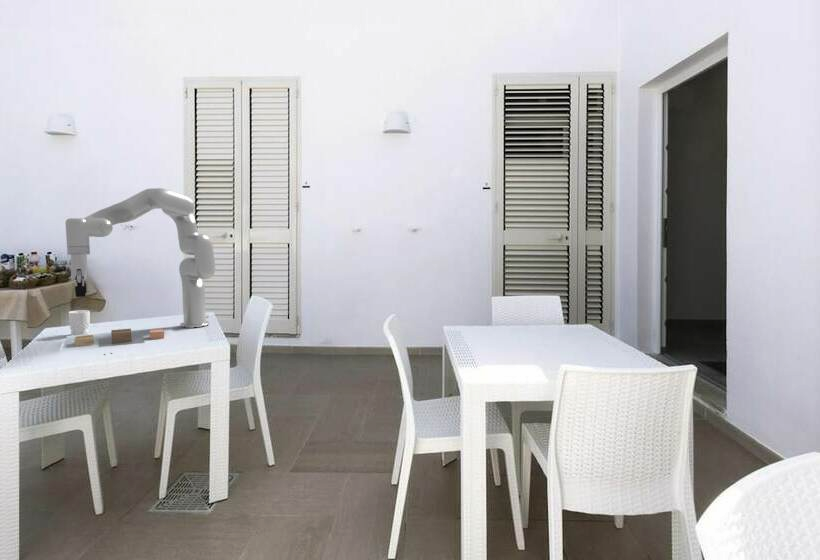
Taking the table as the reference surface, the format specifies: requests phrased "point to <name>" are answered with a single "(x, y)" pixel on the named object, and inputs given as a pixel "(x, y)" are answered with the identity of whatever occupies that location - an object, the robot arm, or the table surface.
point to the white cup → (79, 322)
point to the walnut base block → (121, 335)
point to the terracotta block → (157, 334)
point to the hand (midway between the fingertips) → (81, 295)
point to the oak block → (84, 340)
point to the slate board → (108, 342)
